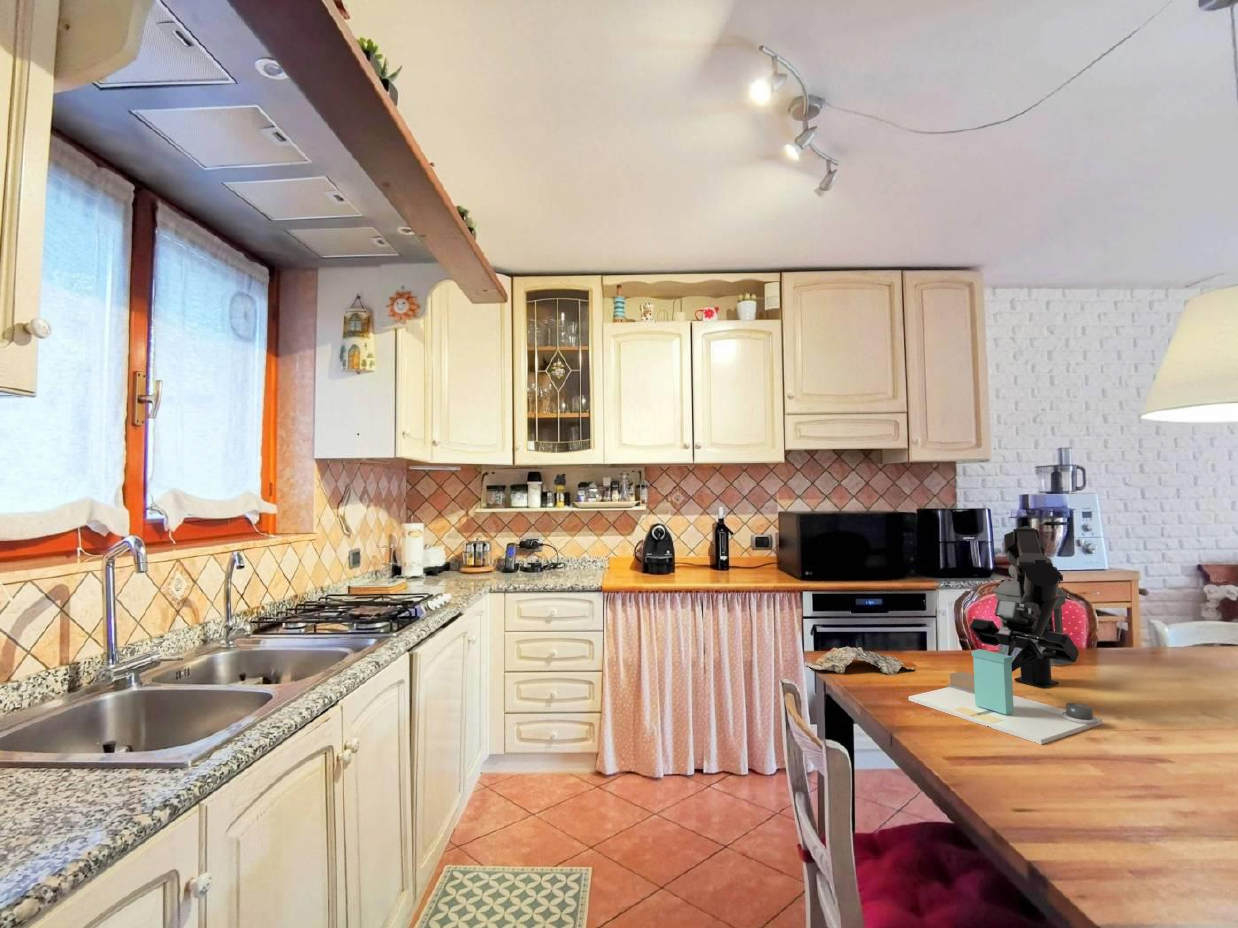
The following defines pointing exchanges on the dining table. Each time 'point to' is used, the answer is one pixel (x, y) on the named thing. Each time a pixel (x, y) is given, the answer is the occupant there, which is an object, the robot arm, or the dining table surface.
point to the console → (1025, 720)
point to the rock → (845, 656)
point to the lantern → (1011, 594)
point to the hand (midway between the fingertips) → (1005, 672)
